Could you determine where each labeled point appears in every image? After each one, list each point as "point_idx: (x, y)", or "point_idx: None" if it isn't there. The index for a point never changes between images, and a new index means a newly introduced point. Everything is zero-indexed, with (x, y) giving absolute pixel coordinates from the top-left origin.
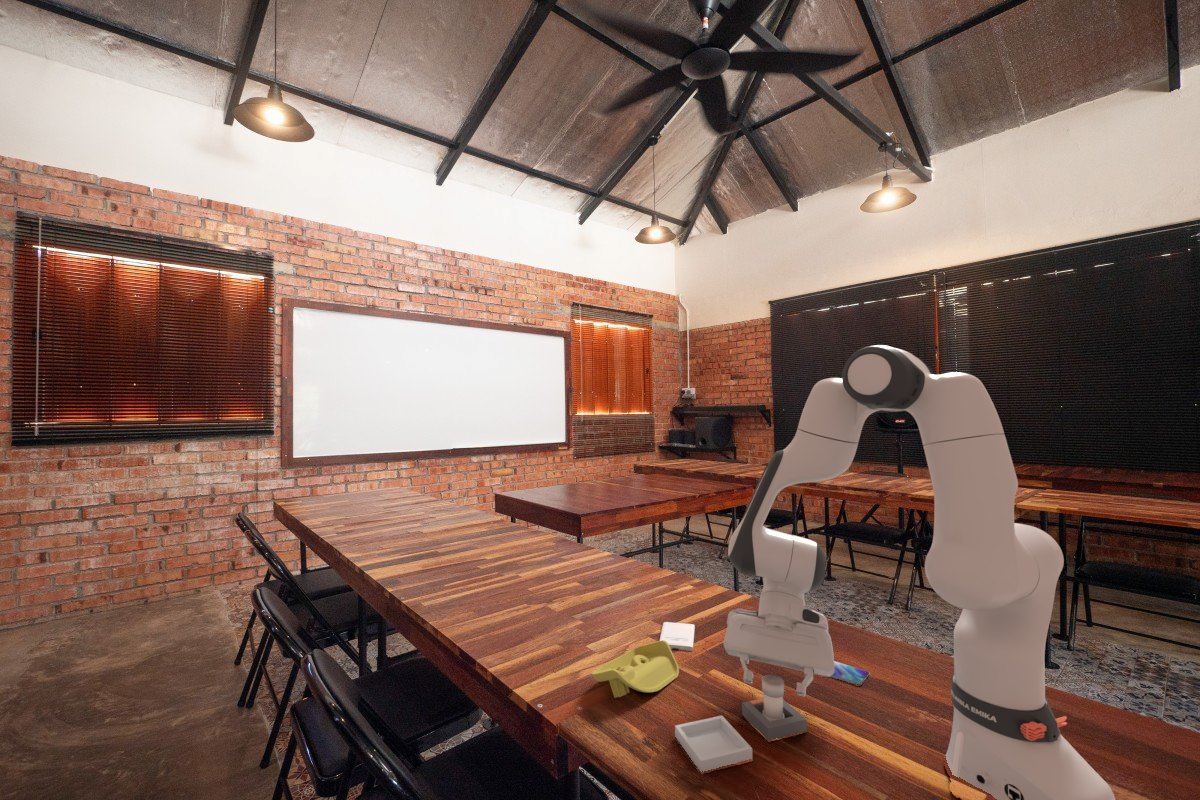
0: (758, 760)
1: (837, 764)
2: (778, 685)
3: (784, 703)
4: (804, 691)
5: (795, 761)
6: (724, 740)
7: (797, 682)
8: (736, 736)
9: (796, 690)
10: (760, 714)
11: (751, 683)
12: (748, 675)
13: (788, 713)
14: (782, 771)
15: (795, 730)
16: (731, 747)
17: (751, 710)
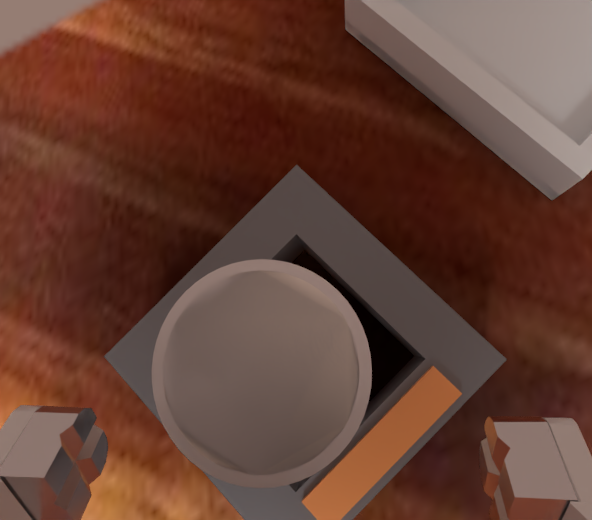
0: (323, 53)
1: (16, 189)
2: (195, 299)
3: None
4: (11, 413)
5: (176, 124)
6: (502, 74)
7: (39, 474)
8: (443, 41)
9: (78, 412)
10: (362, 280)
11: (482, 440)
12: (535, 454)
13: None
14: (220, 38)
15: None
16: (453, 38)
17: (424, 296)
